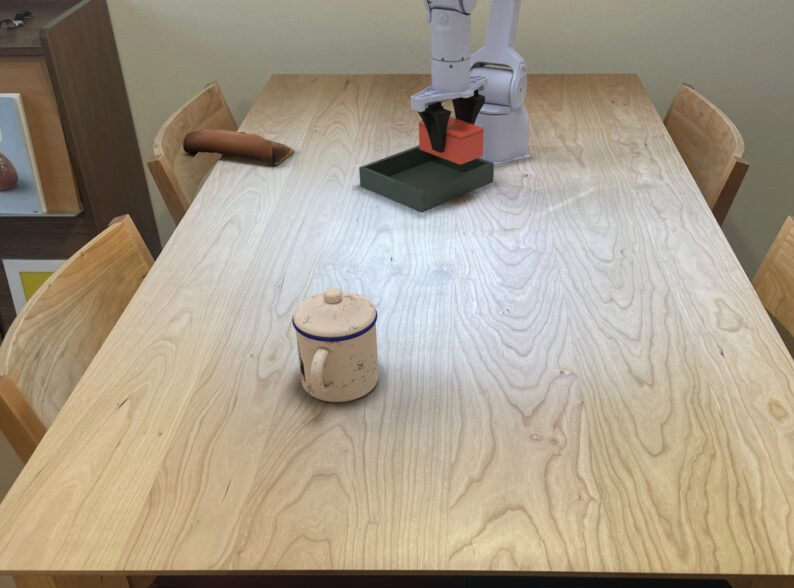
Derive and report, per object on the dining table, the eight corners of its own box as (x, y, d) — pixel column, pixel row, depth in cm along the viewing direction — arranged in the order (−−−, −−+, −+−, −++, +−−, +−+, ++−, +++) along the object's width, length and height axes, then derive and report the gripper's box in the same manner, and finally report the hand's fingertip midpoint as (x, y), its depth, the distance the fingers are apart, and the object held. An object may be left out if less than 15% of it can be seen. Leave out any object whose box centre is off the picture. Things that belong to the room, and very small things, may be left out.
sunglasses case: (296, 147, 156) (284, 122, 151) (283, 179, 154) (270, 155, 148) (208, 136, 161) (193, 111, 155) (193, 167, 158) (177, 143, 153)
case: (441, 141, 140) (441, 113, 138) (483, 156, 135) (483, 127, 132) (418, 149, 137) (418, 121, 135) (460, 165, 132) (460, 136, 129)
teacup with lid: (315, 353, 103) (305, 266, 97) (389, 362, 102) (385, 274, 95) (278, 416, 94) (265, 323, 87) (360, 426, 92) (353, 333, 86)
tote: (431, 161, 153) (431, 140, 151) (493, 184, 144) (494, 163, 142) (360, 188, 143) (358, 167, 141) (422, 215, 135) (421, 192, 133)
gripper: (434, 72, 121) (435, 165, 129) (504, 51, 130) (501, 140, 137) (399, 62, 125) (402, 153, 133) (470, 42, 134) (468, 129, 141)
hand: (450, 146), depth 135 cm, fingers closed on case, 5 cm apart
